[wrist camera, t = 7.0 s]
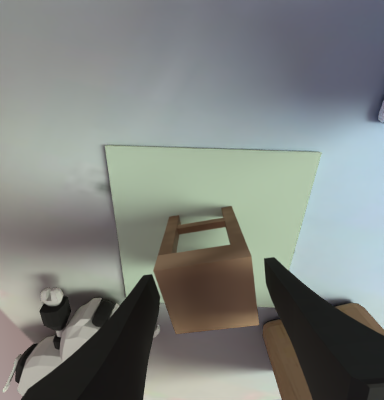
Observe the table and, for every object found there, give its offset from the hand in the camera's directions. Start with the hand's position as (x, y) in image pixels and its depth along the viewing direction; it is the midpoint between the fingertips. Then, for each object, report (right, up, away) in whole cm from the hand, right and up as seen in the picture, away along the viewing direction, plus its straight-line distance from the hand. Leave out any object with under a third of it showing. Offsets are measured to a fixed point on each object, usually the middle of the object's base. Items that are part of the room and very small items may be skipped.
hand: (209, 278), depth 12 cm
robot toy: (-12, -10, +10) cm, 19 cm away
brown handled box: (0, +2, +4) cm, 4 cm away
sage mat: (0, +2, +4) cm, 5 cm away
